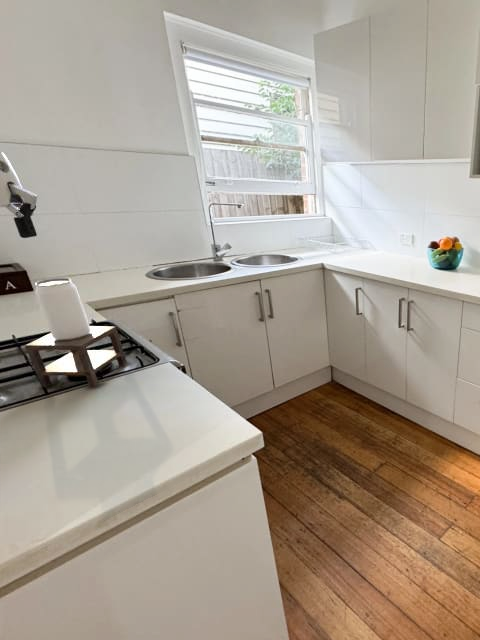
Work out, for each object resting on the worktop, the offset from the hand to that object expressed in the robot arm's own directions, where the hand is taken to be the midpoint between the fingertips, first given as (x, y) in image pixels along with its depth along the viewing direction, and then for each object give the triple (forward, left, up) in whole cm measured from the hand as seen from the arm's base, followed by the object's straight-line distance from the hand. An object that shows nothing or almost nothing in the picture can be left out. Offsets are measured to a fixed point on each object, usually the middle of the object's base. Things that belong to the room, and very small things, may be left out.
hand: (4, 236), depth 78 cm
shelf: (+10, -4, -30) cm, 32 cm away
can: (+10, -4, -20) cm, 23 cm away
